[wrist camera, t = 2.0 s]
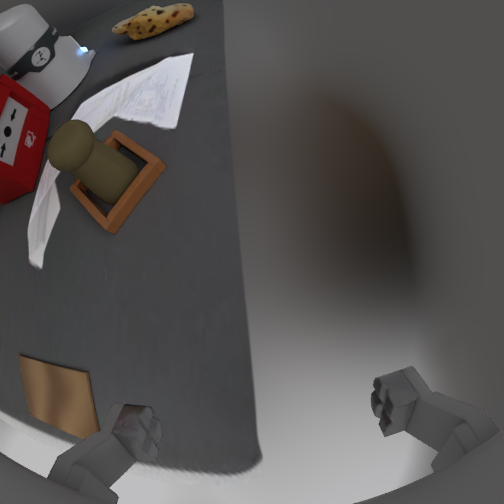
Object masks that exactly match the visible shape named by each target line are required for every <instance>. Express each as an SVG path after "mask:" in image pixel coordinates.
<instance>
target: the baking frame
mask: <svg viewBox="0 0 504 504" xmlns="http://www.w3.org/2000/svg"><path fill="white" fill-rule="evenodd" d="M104 144H106V145H107V146H109V147H111V148H112V149H114V150H116V151H117V150H118V149H119V147H120V146H121V145H122V146H123V147H125V148H126V149H128V150H129V151H130V152H132V153H133V154H135V155H136V156H137V157H139V158H140V159H141V160H143V161H144V162H146V163H147V164H146V166H145V167H144V168H143V169H142V171H141V172H140V173H139V174H138V175H137V177H136V178H135V179H134V181H133V182H132V183H131V184H130V186H129V187H128V188H127V190H126V191H125V192H124V194H123V195H122V196H121V198H120V199H119V200H118V202H117V203H116V204H115V206H114V207H113V208H112V210H111V211H110V213H109V214H108V215H107V214H106V213H105V212H104V211H103V209H102V208H101V207H100V206H99V205H98V204H97V203H96V202H95V201H94V200H93V199H92V198H91V197H90V196H89V195H88V194H87V192H86V191H87V189H88V187H86V186H85V185H84V184H83V183H82V182H81V181H80V180H79V179H78V178H77V179H76V180H75V182H74V183H73V185H72V186H71V188H70V191H71V192H72V193H73V194H74V195H75V197H76V198H77V199H78V200H79V201H80V202H81V204H82V205H83V206H84V207H85V208H86V209H87V211H88V212H89V213H90V214H91V215H92V216H93V217H94V218H95V220H96V221H97V222H98V223H99V224H100V225H101V226H102V227H103V228H104V229H105V230H106V231H108V232H111V233H113V234H116V233H117V231H118V230H119V228H120V227H121V225H122V224H123V223H124V221H125V220H126V218H127V217H128V216H129V214H130V213H131V212H132V210H133V209H134V208H135V206H136V205H137V204H138V202H139V201H140V200H141V198H142V197H143V196H144V194H145V193H146V192H147V191H148V189H149V188H150V187H151V186H152V184H153V183H154V182H155V181H156V179H157V178H158V177H159V176H160V174H161V173H162V172H163V171H164V170H165V169H166V167H167V166H166V165H165V164H164V163H163V162H162V161H161V160H160V159H159V158H158V157H156V156H155V155H153V154H152V153H150V152H149V151H147V150H146V149H144V148H143V147H141V146H140V145H138V144H137V143H135V142H134V141H132V140H131V139H129V138H128V137H126V136H125V135H123V134H122V133H120V132H119V131H117V130H116V129H115V130H114V131H113V132H112V134H111V136H109V137H108V139H107V140H106V141H105V142H104Z"/></svg>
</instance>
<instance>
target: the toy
mask: <svg viewBox="0 0 504 504" xmlns="http://www.w3.org/2000/svg"><path fill="white" fill-rule="evenodd" d="M193 16H194V10H193V7H192V6H191V5H190V4H184V3H179V4H175V5H170V6H167V7H164V8H161V7H159V6H151V7H148V8H147V9H146V10H144V11H141V12H139V13H138V14H137V15H135V16H134V17H131V18H129V19H126V20H124V21H122V22H120V23H118V24H117V25H116V26H114V27H113V28H112V32H114V33H115V34H116V35H117V34H120V35H123V34H125V35H129V36H130V38H131V39H133V40H140V39H145V38H147V37H151V36H155V35H158V34H160V33H162V32H164V31H166V30H168V29H170V28H171V27H174V26H175V25H181V24H182V23H183V22H185V21H187V20H189V19H191V18H192V17H193Z"/></svg>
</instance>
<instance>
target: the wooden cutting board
mask: <svg viewBox="0 0 504 504" xmlns="http://www.w3.org/2000/svg"><path fill="white" fill-rule="evenodd" d="M18 356H19V363H20V369H21V375H22V381H23V386H24V391H25V395H26V400H27V404H28V408H29V412H30V415H32V416H34V417H36V418H37V419H39V420H41V421H43V422H45V423H48V424H50V425H52V426H54V427H56V428H58V429H61V430H63V431H65V432H68V433H70V434H72V435H75V436H77V437H80V438H82V439H86V438H87V437H89V436H90V435H92V434H93V433H95V432H96V431H99V432H100V429H99V425H98V420H97V416H96V412H95V407H94V402H93V397H92V392H91V386H90V380H89V373H88V372H84V371H79V370H75V369H70V368H66V367H62V366H58V365H54V364H50V363H47V362H43V361H39V360H36V359H33V358H29V357H26V356H23V355H18Z"/></svg>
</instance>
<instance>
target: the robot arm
mask: <svg viewBox="0 0 504 504" xmlns="http://www.w3.org/2000/svg"><path fill="white" fill-rule="evenodd" d="M95 54H96V52H95V51H94V50H89V51H87V49H86V47H83V48H82V47H81V46H80V45H79V44H78V43H77V42H76V41H75V40H74V39H73V38H72V37H71V36H65V37H61V36H59V33H58V32H57V31H56V29H55V28H54V27H53V26H52V25H48V24H47V23H46V22H45V20H44V19H43V18H42V17H41V16H40V14H39V13H38V12H37V11H36V10H35V8H34V7H33V6H31V5H28V4H22V5H18V6H16V7H13V8H11V9H9V10H7V11H5V12H3V13H0V65H1V66H2V67H3V68H4V69H5V73H6V74H7V75H8V76H9V77H10V78H12V79H13V80H14V81H17V83H19V84H20V85H21V86H23V87H24V88H25V89H27V90H28V91H30V92H31V93H32V94H34V95H35V96H36V97H37V98H39V99H40V100H41V101H42V102H44V103H45V104H46V105H47V106H48V107H49V108H50V109H53V108H55V107H56V106H57V105H59V104H60V103H61V102H62V101H63V100H64V99H65V98H67V97H68V96H69V95H70V94H71V93H72V92H73V90H74V89H75V88H76V87H77V86H78V85H79V83H80V82H81V81H82V80H83V78H84V77H85V75H86V74H87V72H88V70H89V68H90V64H91V60H92V59H93V57H94V56H95ZM373 386H374V388H375V391H373V393H372V394H371V407H372V410H373V412H374V415H375V416H376V417H378V418H380V422H379V426H380V428H381V430H382V433H383V435H384V437H386V436H389V435H392V434H395V433H398V432H401V431H404V430H405V431H406V432H407V433H409V434H411V435H412V436H414V437H416V438H417V439H418V440H420V441H422V442H423V443H425V444H427V445H428V446H430V447H432V448H433V449H435V450H436V451H438V452H439V453H438V454H437V456H436V457H435V459H434V460H433V462H432V464H431V466H432V469H433V471H434V473H432V474H430V475H428V476H426V477H424V478H422V479H419V480H417V481H415V482H413V483H411V484H408V485H406V486H403V487H401V488H399V489H396V490H393V491H391V492H388V493H385V494H382V495H380V496H377V497H374V498H371V499H368V500H364V501H361V502H358V503H354V504H504V428H503V429H502V430H501V431H500V430H499V429H498V427H497V426H496V425H495V423H494V422H493V421H492V419H491V418H490V417H489V415H488V414H487V413H486V411H485V410H484V409H481V408H479V407H476V406H473V405H471V404H468V403H465V402H462V401H460V400H457V399H454V398H452V397H449V396H446V395H444V394H441V393H438V392H432V391H431V390H430V388H429V387H428V386H427V384H426V383H425V381H424V380H423V379H422V377H421V376H420V375H419V373H418V372H417V371H416V369H415V368H414V367H412V366H410V367H407V368H405V369H402V370H398V371H395V372H393V373H389V374H386V375H383V376H380V377H377V378H375V380H374V383H373ZM153 415H154V411H153V409H152V408H151V406H142V405H131V404H120V403H115V404H114V405H112V407H111V409H110V411H109V413H108V415H107V418H106V420H105V422H104V424H103V426H102V428H101V430H100V432H99V431H96V432H95V433H93V434H92V435H90V436H89V437H87V438H86V439H84V440H83V441H81V442H80V443H78V444H77V445H75V446H74V447H72V448H70V449H69V450H67V451H66V452H64V453H63V454H61V455H59V456H58V457H57V459H56V461H55V463H54V465H53V467H52V469H51V471H50V473H49V475H48V477H47V478H45V477H43V476H41V475H39V474H37V473H35V472H33V471H31V470H29V469H28V468H26V467H24V466H22V465H20V464H18V463H17V462H15V461H14V460H12V459H10V458H9V457H7V456H6V455H4V454H2V453H1V452H0V504H117V502H118V498H119V497H118V495H117V494H116V493H115V492H113V491H112V490H111V489H110V488H109V487H111V486H112V485H113V484H114V483H115V482H116V481H117V480H118V479H119V478H120V477H121V476H122V475H123V474H124V473H125V472H126V471H127V470H128V469H129V468H130V467H131V466H132V465H133V464H134V463H135V462H136V460H138V461H147V462H156V458H157V455H158V451H159V449H158V447H157V444H158V443H159V442H160V441H161V440H162V436H163V428H162V425H161V422H160V421H159V419H157V418H156V417H154V416H153Z"/></svg>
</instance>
